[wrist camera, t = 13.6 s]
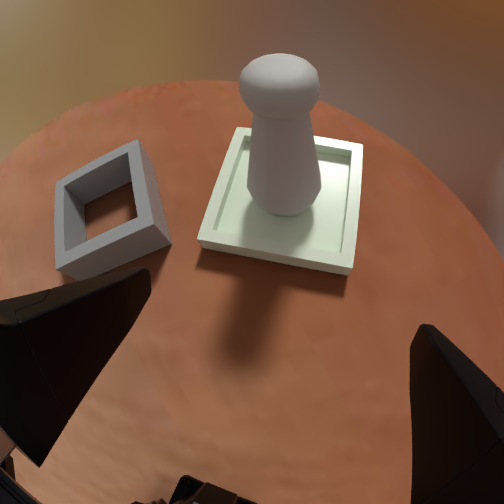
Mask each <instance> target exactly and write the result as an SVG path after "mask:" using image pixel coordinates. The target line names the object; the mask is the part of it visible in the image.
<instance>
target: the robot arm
mask: <svg viewBox="0 0 504 504" xmlns="http://www.w3.org/2000/svg"><path fill="white" fill-rule="evenodd" d="M150 294H151V279H150V271H149V269H148V268H146V267H142V266H134V267H130V268H127V269H123V270H119V271H115V272H111V273H107V274H104V275H100V276H96V277H92V278H89V279H85V280H81V281H77V282H74V283H70V284H66V285H62V286H59V287H55V288H52V289H47V290H44V291H40V292H36V293H32V294H28V295H24V296H19V297H15V298H10V299H5V300H0V504H42V503H41V502H39V501H38V500H37V499H36V498H34V497H33V496H32V495H31V494H30V493H29V492H27V491H26V490H25V489H24V488H23V487H22V486H21V485H20V484H18V483H17V482H16V480H15V472H14V464H13V458H12V457H11V456H10V454H11V452H12V451H13V450H14V449H15V448H17V449H18V450H19V451H20V452H21V453H22V454H23V455H24V456H26V457H27V458H28V459H29V460H30V461H31V462H33V463H34V464H35V465H36V466H38V467H40V466H41V465H42V464H43V462H44V460H45V459H46V457H47V455H48V454H49V452H50V450H51V449H52V447H53V445H54V444H55V442H56V440H57V439H58V437H59V436H60V434H61V432H62V431H63V429H64V428H65V426H66V424H67V423H68V420H69V419H70V418H71V416H72V415H73V413H74V412H75V410H76V408H77V407H78V405H79V404H80V402H81V401H82V399H83V398H84V396H85V395H86V393H87V392H88V390H89V389H90V387H91V386H92V384H93V383H94V381H95V380H96V378H97V377H98V375H99V374H100V372H101V371H102V369H103V368H104V367H105V365H106V364H107V362H108V361H109V359H110V358H111V356H112V355H113V354H114V352H115V351H116V349H117V348H118V346H119V345H120V344H121V342H122V341H123V339H124V338H125V337H126V335H127V334H128V332H129V331H130V329H131V328H132V326H133V325H134V323H135V321H136V319H137V318H138V316H139V314H140V312H141V310H142V309H143V307H144V305H145V304H146V302H147V300H148V298H149V297H150ZM410 404H411V421H412V490H411V504H504V392H503V391H502V390H501V389H500V388H499V387H497V385H496V384H495V383H494V382H493V381H492V380H491V379H490V378H489V377H488V376H487V375H486V374H485V373H484V372H483V371H482V370H481V369H480V368H479V367H478V366H477V365H475V364H474V363H473V362H472V361H471V360H470V359H469V358H468V357H467V356H466V355H465V354H464V353H463V352H462V351H461V350H460V349H459V348H458V347H456V346H455V345H454V344H453V343H452V342H451V341H450V340H449V339H448V338H447V337H446V336H444V335H443V334H442V333H441V332H440V331H439V330H438V329H437V328H436V327H434V326H433V325H430V324H421V325H420V326H419V328H418V330H417V332H416V335H415V337H414V339H413V341H412V343H411V346H410ZM184 479H187V480H188V481H189V483H187V482H185V481H184ZM131 504H143V503H140V502H137V501H135V502H133V503H131ZM146 504H147V503H146ZM148 504H167V503H166V502H165V501H164V500H163V499H162V498H161V499H159V500H158V501H156V502H155V501H152V502H150V503H148ZM169 504H257V503H255V502H252V501H250V500H247V499H244V498H241V497H238V496H237V494H235V493H232V492H230V491H227V490H225V489H222V488H220V487H217V486H215V485H213V484H210V483H204V482H202V481H200V480H197V479H195V478H193V477H191V476H189V475H184V476H182V477H181V478H180V480H179V482H178V484H177V487H176V489H175V491H174V493H173V495H172V498H171V500H170V502H169Z"/></svg>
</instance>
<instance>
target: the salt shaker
mask: <svg viewBox="0 0 504 504" xmlns="http://www.w3.org/2000/svg"><path fill="white" fill-rule="evenodd" d="M239 92H240V95H241V98H242V100H243V102H244V103H245V104H246V106H247V107H248V109H249V110H250V111H251V112H252V113H253V119H252V131H251V142H250V153H249V165H248V177H247V189H248V190H249V192H250V194H251V196H252V198H253V200H254V202H255V203H256V204H257V205H259V206H260V207H261V208H263V209H264V210H265V211H267V212H268V213H270V214H272V215H273V216H297V215H298V214H299V213H301V212H302V211H303V210H305V209H306V208H308V207H309V206H311V205H312V204H313V203H314V201H315V200H316V198H317V196H318V194H319V192H320V190H321V188H322V187H321V173H320V168H319V162H318V157H317V152H316V147H315V141H314V135H313V129H312V123H311V118H310V111H311V110H312V108H313V107H314V106H315V104H316V103H317V101H318V99H319V95H320V86H319V80H318V74H317V70H316V69H315V68H314V67H313V66H312V65H311V64H310V63H309V62H307V61H306V60H305V59H303V58H300V57H297V56H294V55H290V54H280V53H278V54H270V55H264V56H262V57H259V58H257V59H254V60H253V61H252V62H250V63H249V64H248V65H247V66H246V67H245V68H244V69H243V70H242V71H241V76H240V81H239Z"/></svg>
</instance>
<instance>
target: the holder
mask: <svg viewBox="0 0 504 504" xmlns="http://www.w3.org/2000/svg"><path fill="white" fill-rule="evenodd" d="M131 181H132V185H133V192H134V198H135V204H136V209H137V215H138V217H137V218H135V219H133V220H130V221H128V222H126V223H124V224H122V225H119V226H117V227H115V228H113V229H111V230H109V231H107V232H105V233H102V234H100V235H98V236H96V237H94V238H92V239H90V240H88V241H87V239H86V226H85V209H84V205H85V204H87V203H89V202H91V201H93V200H95V199H97V198H99V197H101V196H103V195H105V194H107V193H109V192H111V191H113V190H115V189H117V188H119V187H121V186H123V185H125V184H127V183H129V182H131ZM54 230H55V261H56V270H58V271H60V272H62V273H64V274H66V275H68V276H70V277H72V278H73V279H75V280H77V281H81V280H85V279H89V278H92V277H96V276H98V275H100V274H102V273H105V272H107V271H109V270H112V269H114V268H116V267H119V266H121V265H123V264H126V263H128V262H130V261H133V260H135V259H137V258H140V257H142V256H145V255H147V254H149V253H152V252H154V251H157V250H159V249H161V248H164V247H166V246H169V245H171V244H172V242H171V238H170V234H169V230H168V226H167V222H166V218H165V214H164V210H163V206H162V202H161V198H160V193H159V189H158V184H157V180H156V175H155V171H154V166H153V162H152V161H151V159H150V158H149V156H148V154H147V153H146V151H145V149H144V148H143V146H142V144H141V143H140V141H139V140H138V139H136V140H134V141H132V142H130V143H128V144H126V145H124V146H121V147H119V148H117V149H115V150H113V151H111V152H109V153H107V154H106V155H104V156H102V157H100V158H98V159H96V160H94V161H92V162H90V163H89V164H87V165H85V166H83V167H81V168H80V169H78V170H76V171H74V172H73V173H71V174H69V175H67V176H66V177H64V178H62V179H61V180H59V181H57V182H56V188H55V219H54Z"/></svg>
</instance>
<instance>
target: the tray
mask: <svg viewBox="0 0 504 504" xmlns="http://www.w3.org/2000/svg"><path fill="white" fill-rule="evenodd" d="M251 131H252V128H242V127H237V128H236V131H235V133H234V136H233V139H232V141H231V144H230V146H229V149H228V152H227V154H226V157H225V160H224V162H223V165H222V168H221V171H220V173H219V176H218V179H217V182H216V184H215V187H214V190H213V193H212V196H211V199H210V201H209V204H208V207H207V210H206V213H205V216H204V219H203V222H202V225H201V228H200V231H199V234H198V237H197V240H198V241H199V243H200V244H201V246H202V247H203V248H205V249H210V250H216V251H221V252H226V253H231V254H236V255H241V256H246V257H252V258H257V259H262V260H267V261H272V262H278V263H283V264H288V265H293V266H299V267H304V268H309V269H314V270H320V271H325V272H330V273H335V274H341V275H346V276H348V275H349V273H350V272H351V270H352V269H353V262H354V254H355V245H356V237H357V227H358V217H359V205H360V192H361V177H362V157H363V145H362V144H357V143H352V142H346V141H341V140H335V139H330V138H324V137H317V136H314V141H315V147H316V152H317V157H318V162H319V168H320V173H321V187H322V188H321V190H320V192H319V194H318V196H317V198H316V200H315V201H314V203H313V204H312V205H311V206H309V207H308V208H306V209H305V210H303V211H302V212H301V213H299V214H298V215H297V216H273V215H272V214H270V213H268V212H267V211H265V210H264V209H263V208H261V207H260V206H259V205H257V204H256V203H255V202H254V200H253V198H252V196H251V194H250V192H249V190H248V189H247V177H248V165H249V153H250V142H251Z"/></svg>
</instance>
